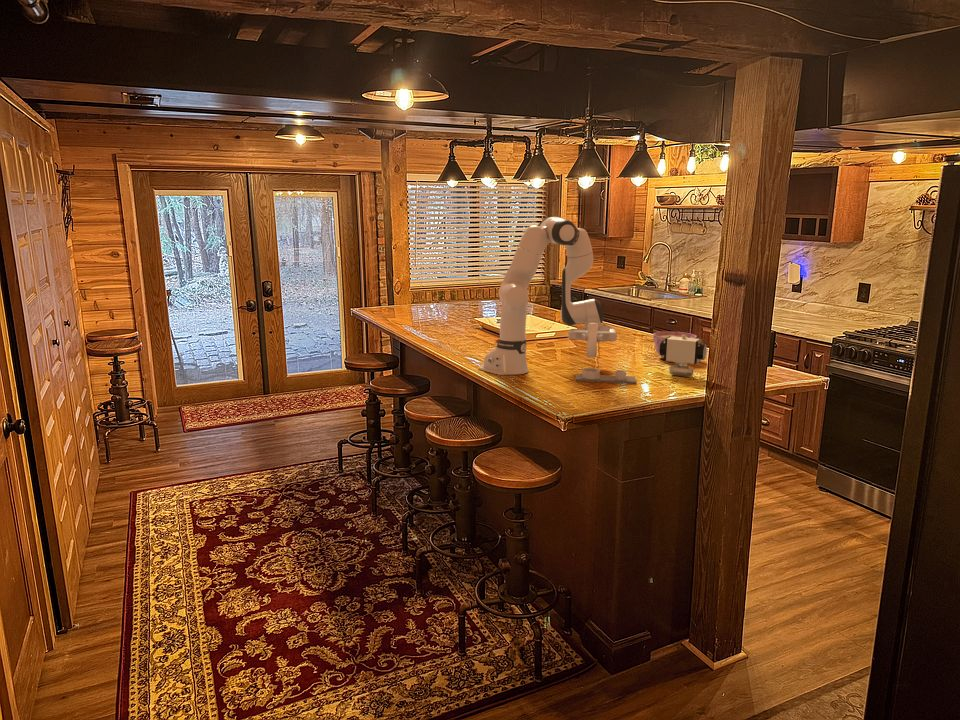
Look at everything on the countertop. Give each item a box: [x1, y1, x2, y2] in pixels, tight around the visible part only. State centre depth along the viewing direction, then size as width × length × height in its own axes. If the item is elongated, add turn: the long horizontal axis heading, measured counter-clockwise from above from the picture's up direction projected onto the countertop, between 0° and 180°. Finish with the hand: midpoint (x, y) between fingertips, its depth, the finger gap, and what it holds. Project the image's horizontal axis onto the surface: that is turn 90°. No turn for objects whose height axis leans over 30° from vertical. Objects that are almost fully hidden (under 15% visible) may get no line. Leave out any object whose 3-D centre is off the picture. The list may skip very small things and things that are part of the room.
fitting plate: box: [575, 367, 637, 385], centre depth 273 cm, size 24×9×4 cm, turn 79°
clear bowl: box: [652, 331, 698, 358], centre depth 314 cm, size 20×20×12 cm
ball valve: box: [659, 335, 708, 378], centre depth 280 cm, size 18×8×18 cm, turn 59°
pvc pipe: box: [586, 323, 598, 359], centre depth 276 cm, size 4×4×14 cm
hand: (592, 338), depth 275 cm, fingers closed on pvc pipe, 4 cm apart
